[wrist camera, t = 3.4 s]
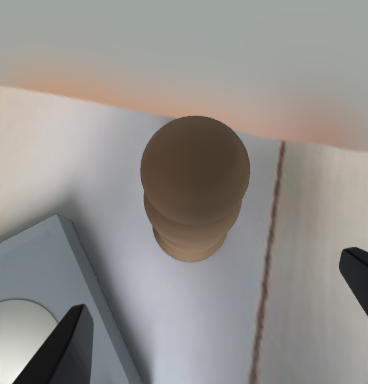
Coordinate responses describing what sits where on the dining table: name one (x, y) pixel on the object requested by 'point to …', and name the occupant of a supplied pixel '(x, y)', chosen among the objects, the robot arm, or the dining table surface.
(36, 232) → the square tray
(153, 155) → the bead column
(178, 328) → the dining table surface
